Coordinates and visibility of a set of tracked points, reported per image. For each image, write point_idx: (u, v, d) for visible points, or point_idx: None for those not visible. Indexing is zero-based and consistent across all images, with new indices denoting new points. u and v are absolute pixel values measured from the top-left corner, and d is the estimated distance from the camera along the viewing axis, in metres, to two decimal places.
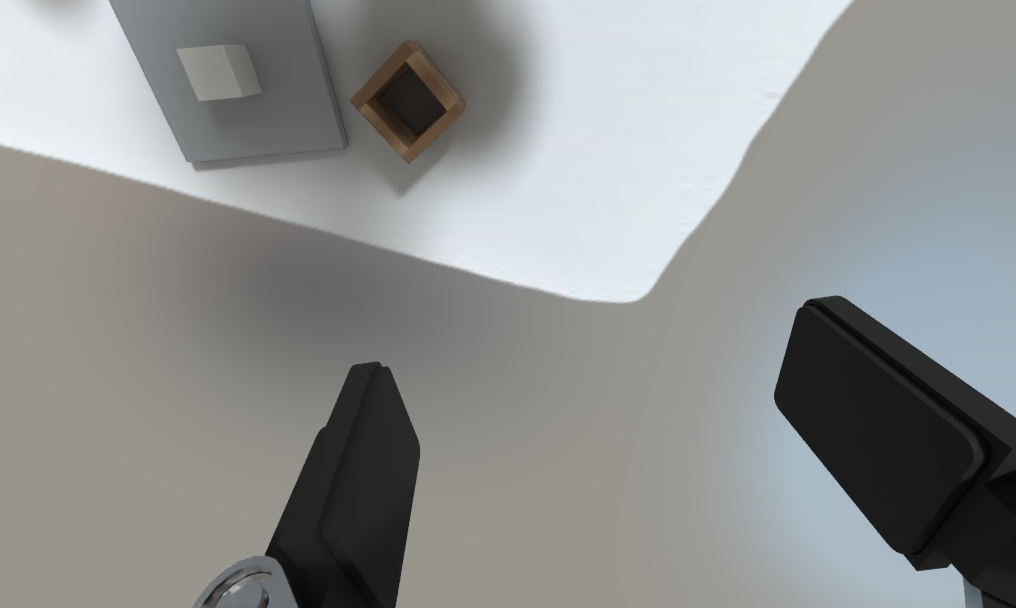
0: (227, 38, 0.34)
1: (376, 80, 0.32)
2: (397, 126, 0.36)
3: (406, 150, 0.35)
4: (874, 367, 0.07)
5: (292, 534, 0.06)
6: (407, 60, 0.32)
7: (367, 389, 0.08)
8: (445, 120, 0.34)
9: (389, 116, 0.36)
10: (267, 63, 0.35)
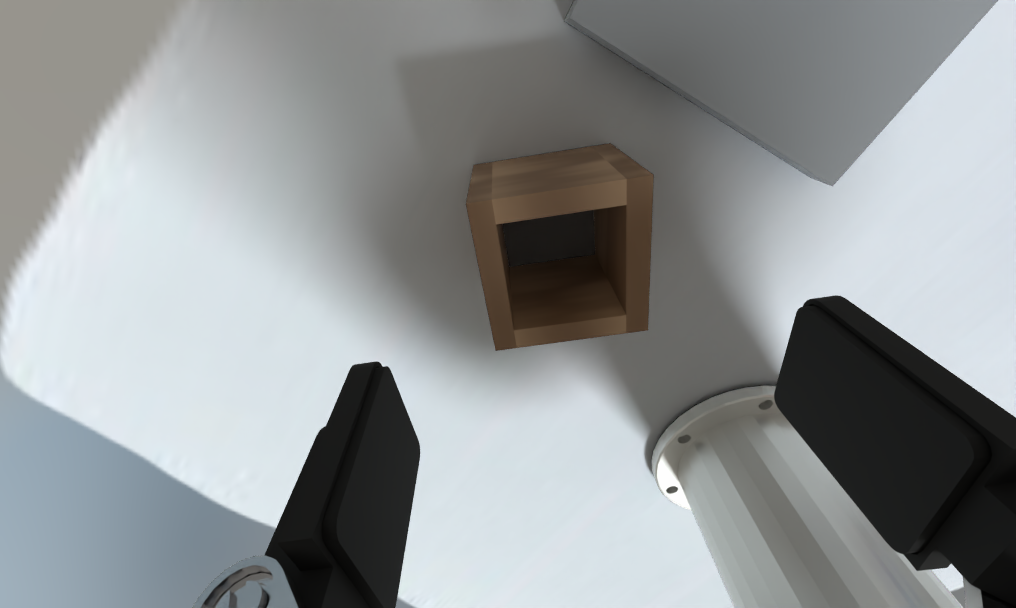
0: None
1: (640, 251, 0.15)
2: None
3: (495, 218, 0.14)
4: (874, 367, 0.07)
5: (292, 534, 0.06)
6: (624, 317, 0.17)
7: (367, 389, 0.08)
8: (501, 320, 0.17)
9: None
10: None
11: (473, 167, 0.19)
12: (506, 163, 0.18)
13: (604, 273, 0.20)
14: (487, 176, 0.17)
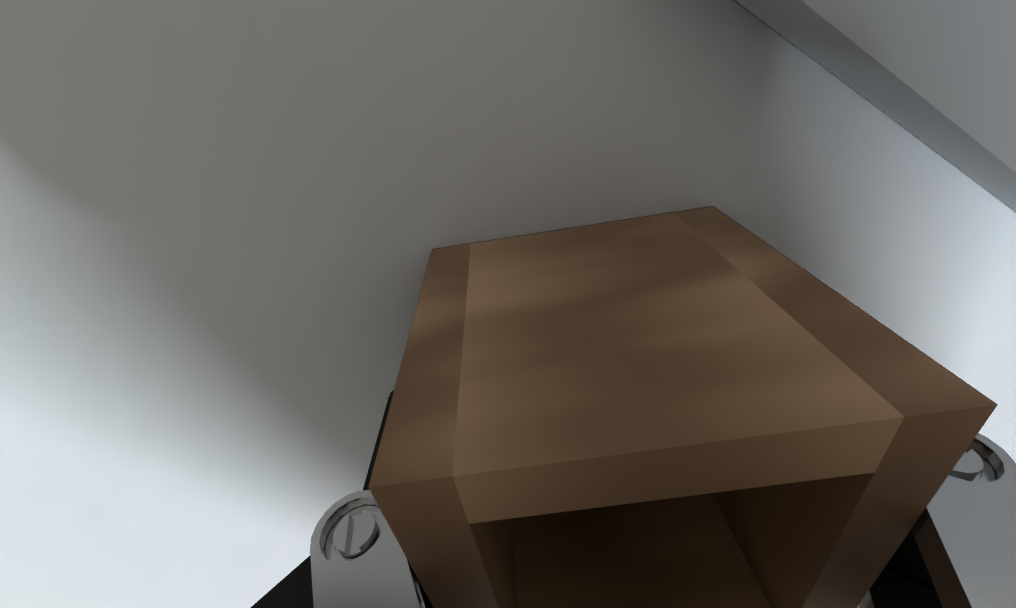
0: None
1: (868, 551, 0.06)
2: None
3: (465, 510, 0.05)
4: None
5: None
6: None
7: None
8: None
9: None
10: None
11: (430, 260, 0.09)
12: (499, 253, 0.09)
13: None
14: (454, 307, 0.07)
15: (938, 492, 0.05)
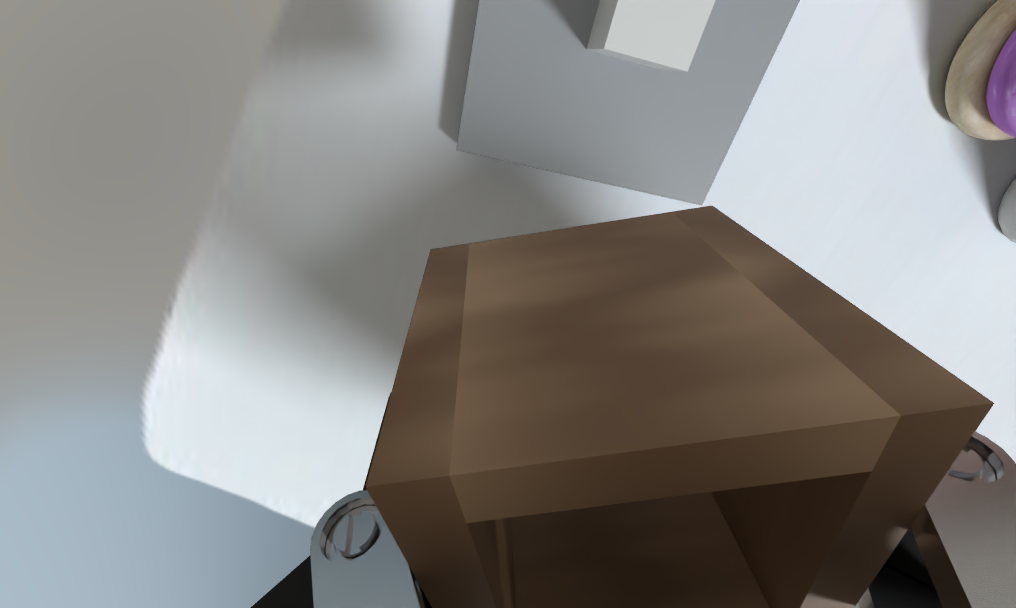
0: None
1: (865, 550, 0.06)
2: None
3: (463, 510, 0.05)
4: None
5: None
6: None
7: None
8: None
9: None
10: (619, 90, 0.20)
11: (428, 260, 0.09)
12: (497, 253, 0.09)
13: None
14: (452, 306, 0.07)
15: (938, 492, 0.05)
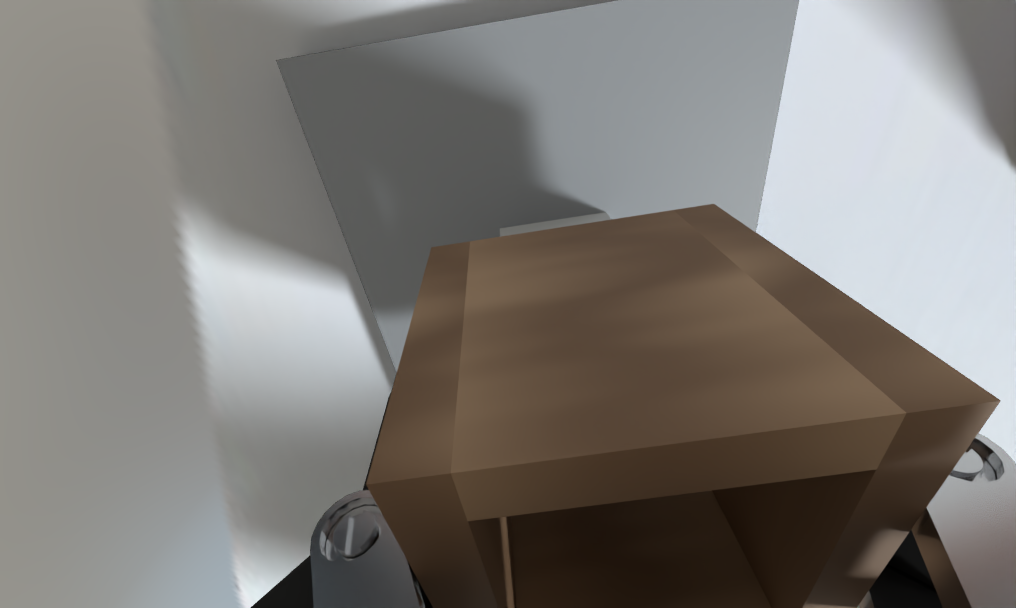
0: None
1: (869, 549, 0.06)
2: None
3: (464, 508, 0.05)
4: None
5: None
6: None
7: None
8: None
9: None
10: None
11: (429, 258, 0.09)
12: (498, 251, 0.09)
13: None
14: (453, 304, 0.07)
15: (938, 492, 0.05)
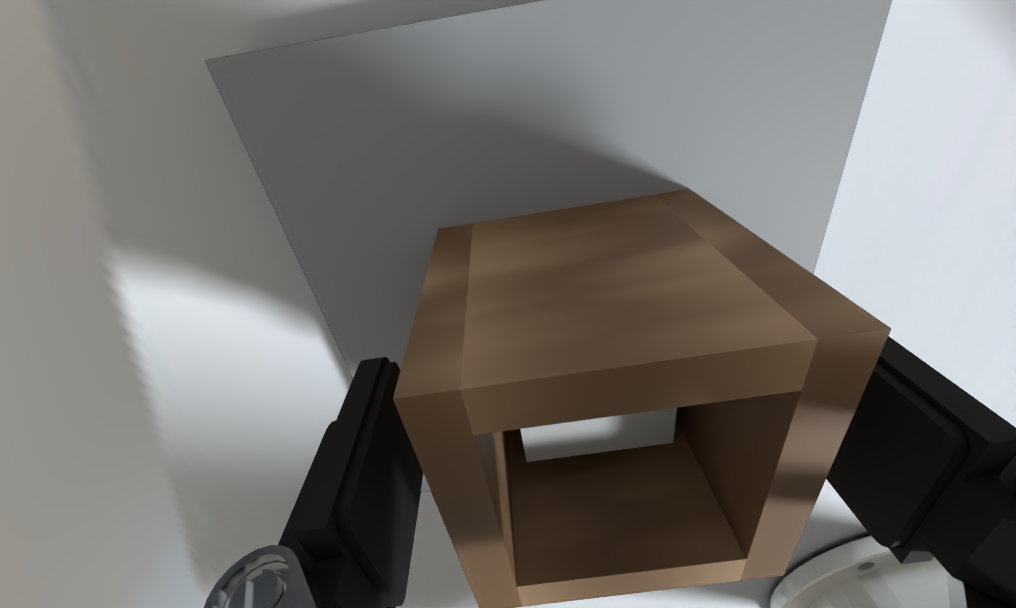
0: None
1: (807, 468, 0.07)
2: None
3: (470, 423, 0.06)
4: None
5: (306, 524, 0.06)
6: (742, 562, 0.08)
7: (376, 384, 0.08)
8: (491, 575, 0.08)
9: None
10: None
11: (436, 237, 0.10)
12: (498, 230, 0.10)
13: None
14: (459, 272, 0.08)
15: None
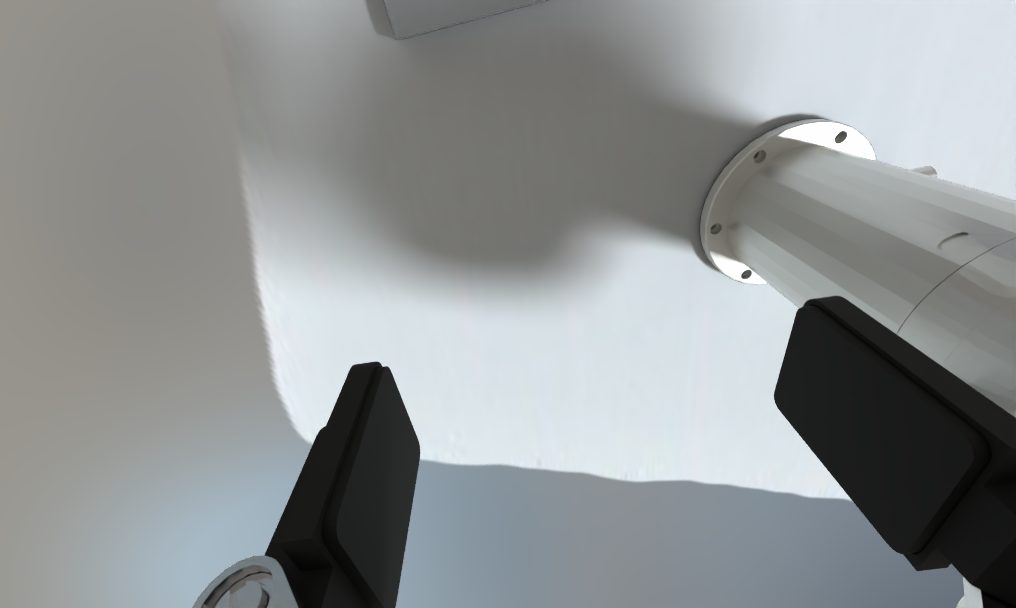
0: None
1: None
2: None
3: None
4: (874, 367, 0.07)
5: (292, 534, 0.06)
6: None
7: (367, 389, 0.08)
8: None
9: None
10: None
11: None
12: None
13: None
14: None
15: None
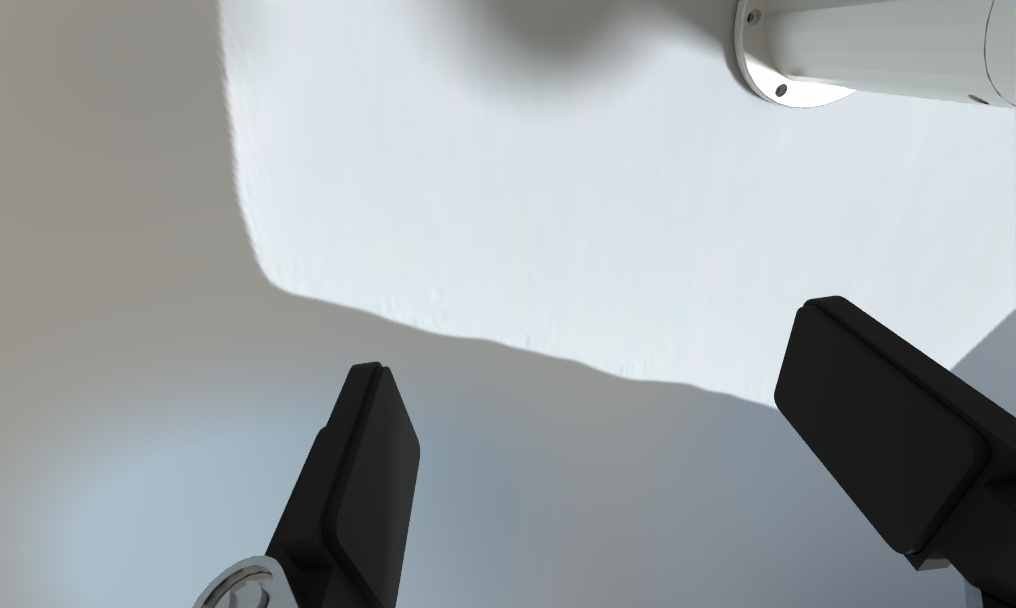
0: None
1: None
2: None
3: None
4: (874, 367, 0.07)
5: (292, 534, 0.06)
6: None
7: (367, 389, 0.08)
8: None
9: None
10: None
11: None
12: None
13: None
14: None
15: None
